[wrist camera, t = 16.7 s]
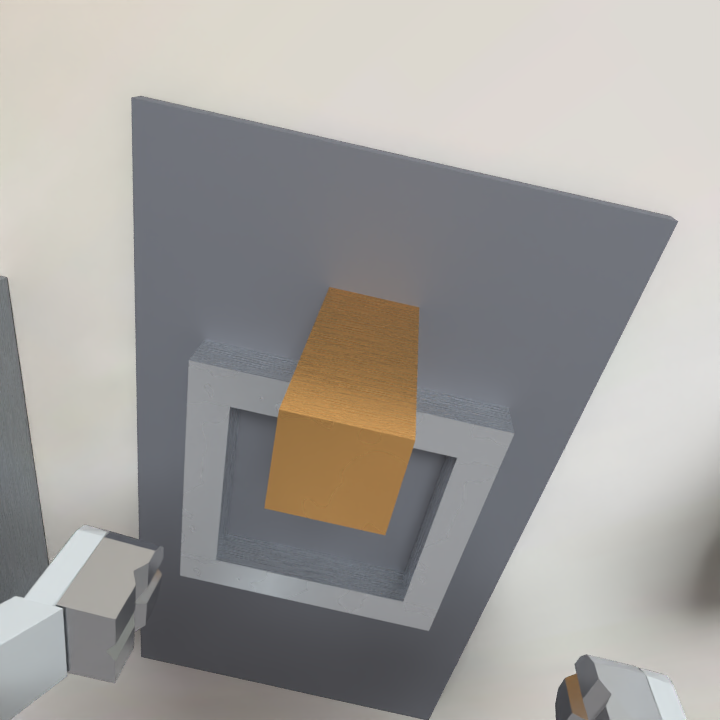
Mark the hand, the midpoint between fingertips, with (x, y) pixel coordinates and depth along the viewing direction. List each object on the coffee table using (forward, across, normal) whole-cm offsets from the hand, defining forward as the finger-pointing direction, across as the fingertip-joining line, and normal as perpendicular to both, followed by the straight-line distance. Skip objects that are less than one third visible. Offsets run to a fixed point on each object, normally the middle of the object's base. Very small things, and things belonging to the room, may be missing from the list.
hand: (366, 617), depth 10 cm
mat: (+10, +1, +7) cm, 13 cm away
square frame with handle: (+10, +1, +5) cm, 11 cm away
